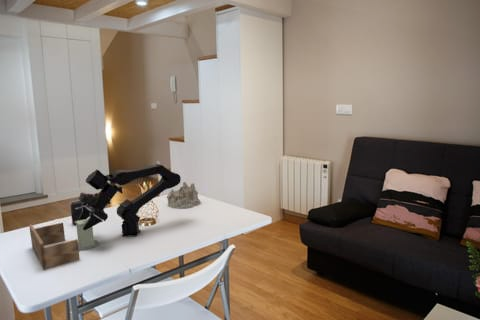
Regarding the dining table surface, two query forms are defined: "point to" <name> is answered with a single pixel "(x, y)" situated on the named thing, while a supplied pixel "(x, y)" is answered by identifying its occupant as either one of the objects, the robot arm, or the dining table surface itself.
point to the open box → (53, 246)
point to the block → (84, 234)
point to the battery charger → (75, 210)
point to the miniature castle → (183, 197)
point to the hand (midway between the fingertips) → (80, 226)
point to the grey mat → (89, 246)
